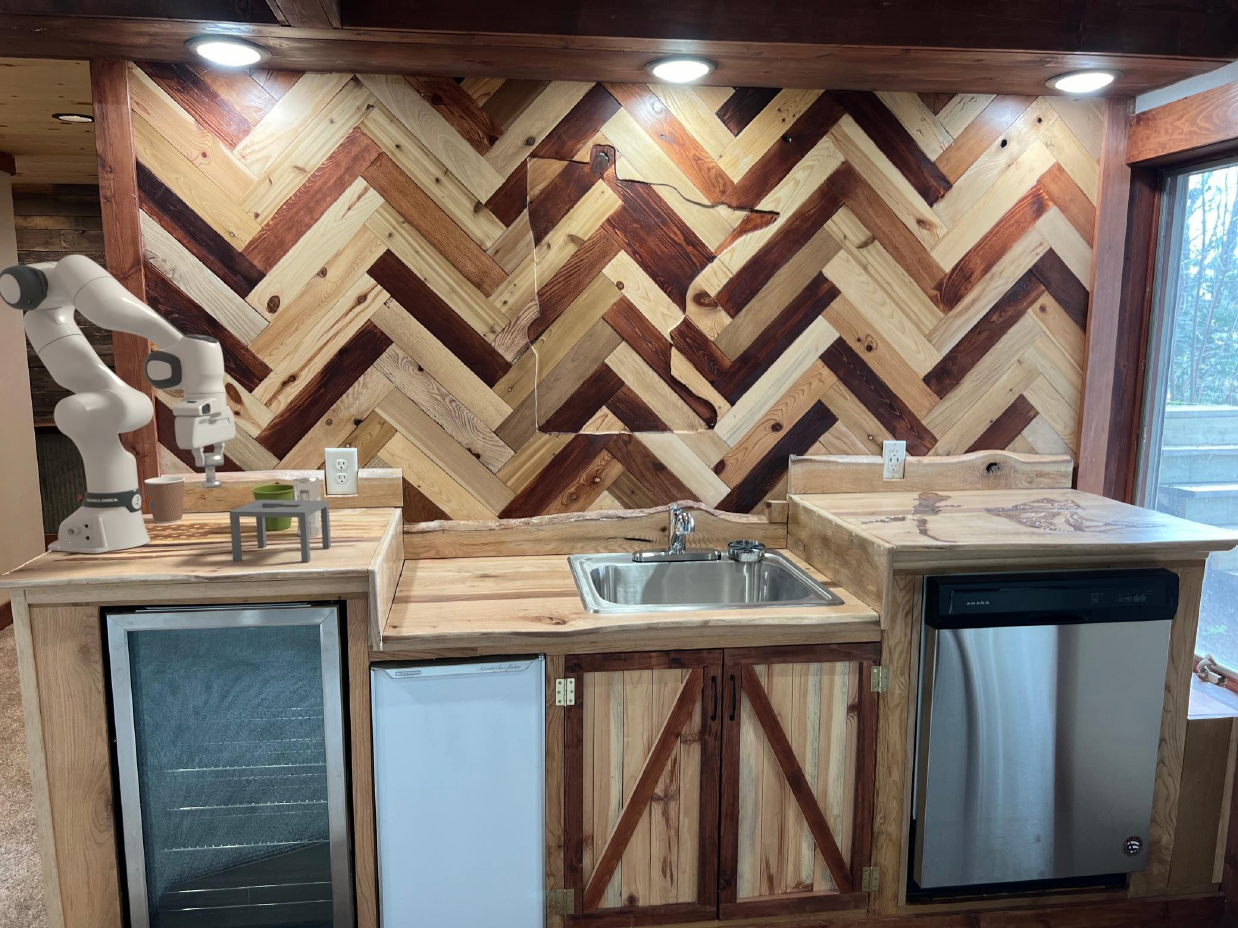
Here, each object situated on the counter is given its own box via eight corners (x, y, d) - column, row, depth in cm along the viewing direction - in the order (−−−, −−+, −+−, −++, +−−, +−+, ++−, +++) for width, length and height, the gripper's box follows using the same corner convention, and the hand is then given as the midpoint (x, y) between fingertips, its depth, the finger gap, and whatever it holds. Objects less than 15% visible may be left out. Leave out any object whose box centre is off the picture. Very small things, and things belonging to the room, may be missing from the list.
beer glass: (327, 531, 229) (324, 477, 226) (316, 538, 222) (312, 481, 220) (302, 531, 230) (299, 476, 227) (290, 537, 223) (287, 481, 220)
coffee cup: (157, 517, 246) (153, 476, 245) (194, 516, 248) (190, 476, 246) (141, 525, 236) (137, 483, 234) (179, 524, 237) (176, 482, 236)
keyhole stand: (233, 561, 199) (229, 511, 198) (260, 546, 213) (257, 499, 211) (308, 562, 199) (305, 512, 197) (331, 547, 212) (328, 500, 210)
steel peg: (192, 488, 198) (189, 456, 197) (205, 483, 204) (203, 452, 203) (217, 488, 198) (214, 456, 197) (230, 484, 204) (228, 453, 203)
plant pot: (245, 532, 228) (242, 491, 226) (268, 522, 240) (265, 483, 238) (286, 533, 227) (283, 492, 225) (307, 523, 238) (305, 484, 237)
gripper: (215, 401, 208) (219, 456, 211) (167, 408, 188) (172, 469, 190) (240, 401, 208) (244, 456, 210) (195, 408, 188) (199, 470, 190)
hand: (209, 463), depth 200 cm, fingers closed on steel peg, 6 cm apart
